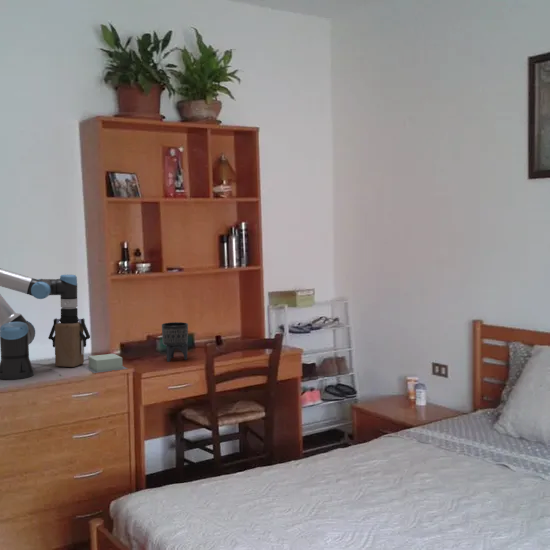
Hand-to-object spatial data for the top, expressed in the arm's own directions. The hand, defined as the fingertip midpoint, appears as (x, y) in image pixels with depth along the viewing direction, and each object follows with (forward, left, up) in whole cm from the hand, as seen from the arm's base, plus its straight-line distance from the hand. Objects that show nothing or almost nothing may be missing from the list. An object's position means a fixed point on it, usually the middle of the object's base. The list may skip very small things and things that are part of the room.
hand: (69, 354), depth 315 cm
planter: (+48, +13, -7) cm, 51 cm away
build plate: (+17, -7, -7) cm, 20 cm away
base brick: (+17, -7, -6) cm, 20 cm away
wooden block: (0, 0, -5) cm, 5 cm away
